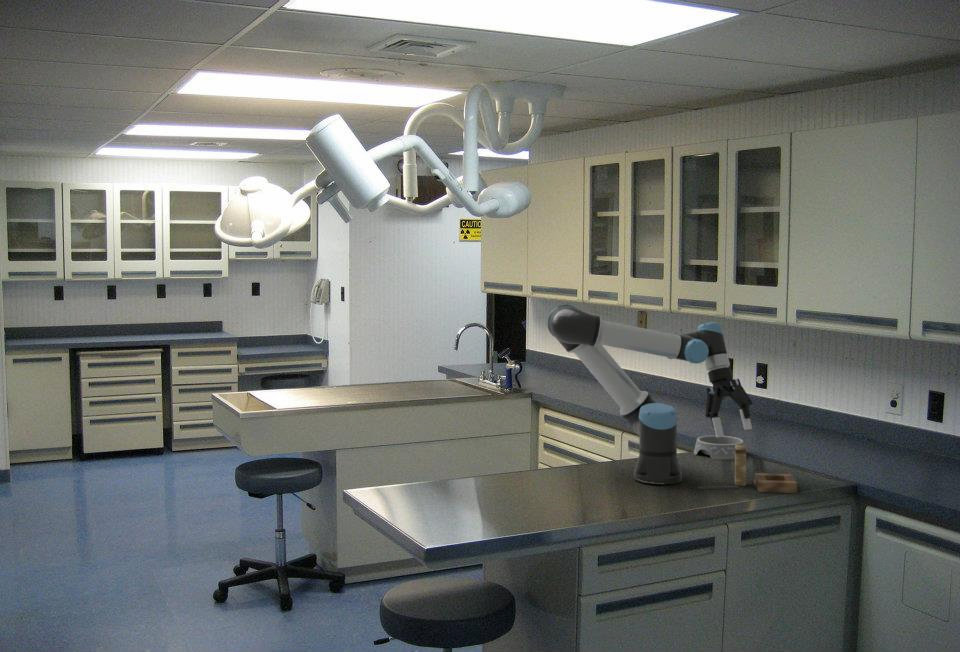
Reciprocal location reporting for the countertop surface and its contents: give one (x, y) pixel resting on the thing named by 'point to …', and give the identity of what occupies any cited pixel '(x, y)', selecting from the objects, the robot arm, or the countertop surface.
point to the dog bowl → (718, 446)
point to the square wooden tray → (775, 483)
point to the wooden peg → (740, 465)
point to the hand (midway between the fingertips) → (733, 433)
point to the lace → (720, 487)
